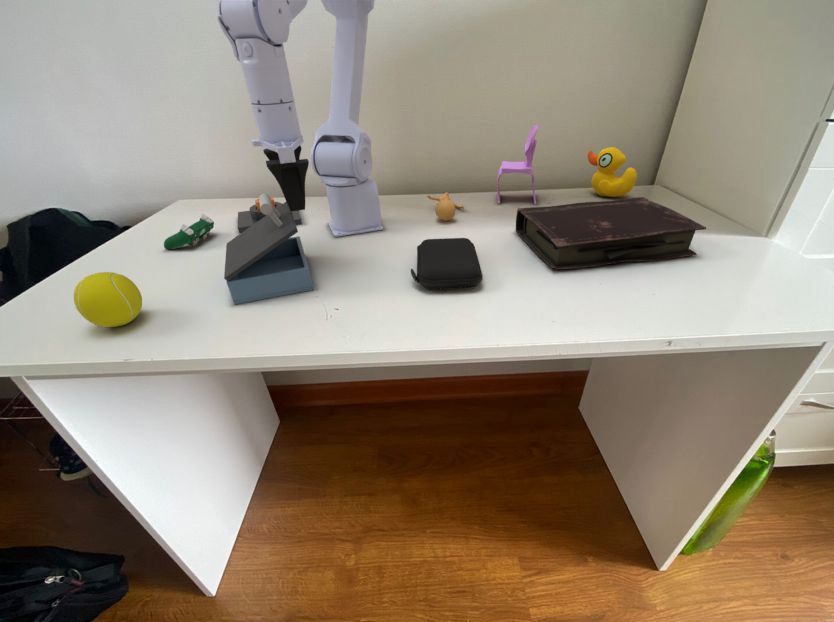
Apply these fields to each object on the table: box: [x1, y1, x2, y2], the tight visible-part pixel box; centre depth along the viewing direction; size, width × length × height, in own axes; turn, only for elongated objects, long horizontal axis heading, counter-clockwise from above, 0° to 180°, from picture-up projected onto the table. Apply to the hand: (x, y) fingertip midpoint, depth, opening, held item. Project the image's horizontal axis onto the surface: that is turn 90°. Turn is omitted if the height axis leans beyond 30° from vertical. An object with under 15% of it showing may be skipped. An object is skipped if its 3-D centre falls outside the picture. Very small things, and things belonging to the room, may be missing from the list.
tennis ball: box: [73, 271, 143, 328], centre depth 55 cm, size 7×7×7 cm
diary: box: [515, 196, 707, 270], centre depth 72 cm, size 19×25×5 cm
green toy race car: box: [163, 213, 215, 250], centre depth 78 cm, size 9×4×6 cm
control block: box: [237, 201, 303, 234], centre depth 86 cm, size 12×10×3 cm
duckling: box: [587, 146, 638, 198], centre depth 92 cm, size 11×5×10 cm, turn 51°
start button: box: [254, 196, 276, 210], centre depth 85 cm, size 4×4×2 cm
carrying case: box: [410, 237, 484, 291], centre depth 66 cm, size 11×3×15 cm
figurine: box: [426, 191, 465, 222], centre depth 87 cm, size 8×6×12 cm
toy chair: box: [496, 124, 539, 205], centre depth 90 cm, size 8×9×15 cm
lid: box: [223, 193, 299, 282], centre depth 61 cm, size 12×13×4 cm
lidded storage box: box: [226, 235, 314, 305], centre depth 65 cm, size 11×13×4 cm
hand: (295, 202), depth 65 cm, fingers open, 7 cm apart
